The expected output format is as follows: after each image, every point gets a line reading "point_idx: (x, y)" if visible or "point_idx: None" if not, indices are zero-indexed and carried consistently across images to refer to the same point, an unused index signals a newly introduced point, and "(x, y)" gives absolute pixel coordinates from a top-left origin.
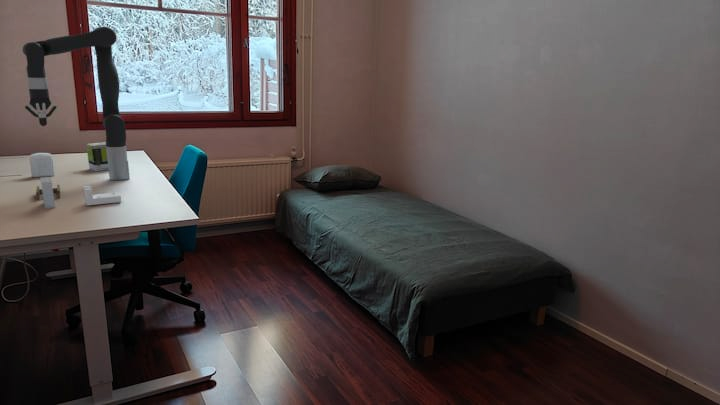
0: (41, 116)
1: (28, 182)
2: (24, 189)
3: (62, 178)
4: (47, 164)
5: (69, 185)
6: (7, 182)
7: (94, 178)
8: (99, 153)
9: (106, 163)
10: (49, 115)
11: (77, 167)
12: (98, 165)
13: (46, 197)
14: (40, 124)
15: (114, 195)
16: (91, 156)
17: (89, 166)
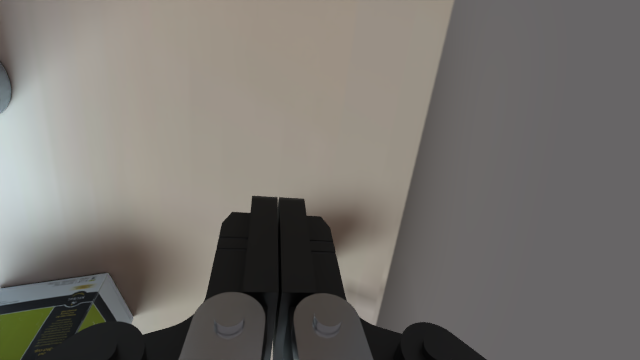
0: (298, 326)
1: (345, 177)
2: (381, 44)
3: (227, 195)
4: None
5: (201, 29)
6: (401, 206)
7: (95, 139)
8: (42, 339)
9: (44, 299)
10: (82, 350)
11: None
12: (82, 291)
13: None
14: (318, 220)
15: None
16: None
17: (129, 322)
